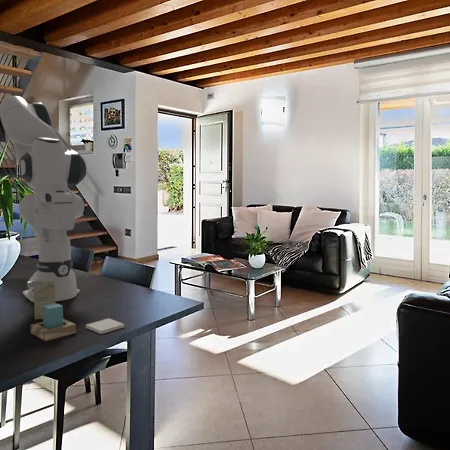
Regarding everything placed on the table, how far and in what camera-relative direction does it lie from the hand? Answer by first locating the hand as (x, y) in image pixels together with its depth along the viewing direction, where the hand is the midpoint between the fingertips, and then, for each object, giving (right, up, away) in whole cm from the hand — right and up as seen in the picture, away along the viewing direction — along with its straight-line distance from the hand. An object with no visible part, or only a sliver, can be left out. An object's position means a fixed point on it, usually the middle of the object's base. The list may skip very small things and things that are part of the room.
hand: (53, 244), depth 123 cm
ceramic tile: (+13, -25, +6) cm, 29 cm away
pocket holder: (-1, -26, +2) cm, 26 cm away
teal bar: (-1, -26, +2) cm, 26 cm away
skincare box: (-9, -24, +16) cm, 30 cm away
